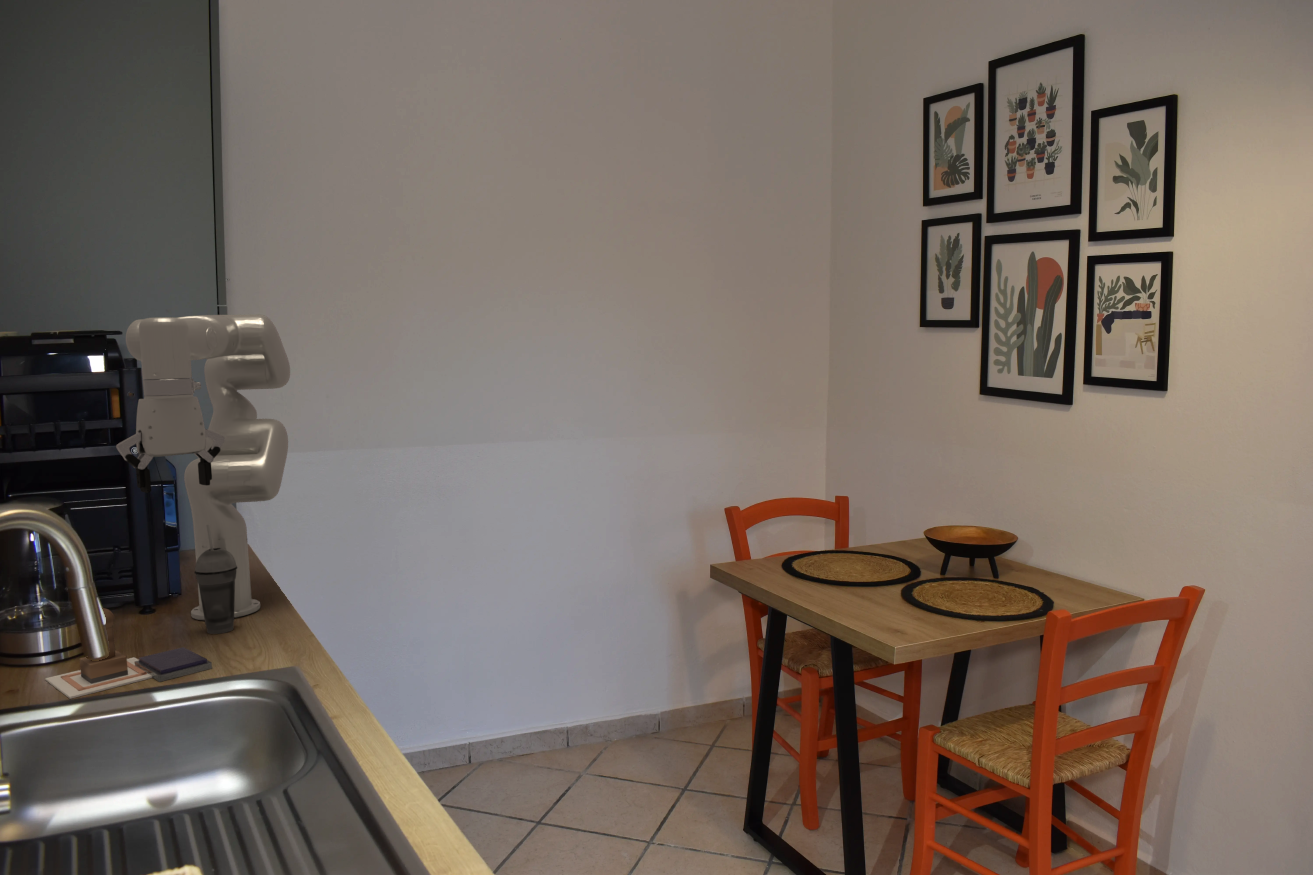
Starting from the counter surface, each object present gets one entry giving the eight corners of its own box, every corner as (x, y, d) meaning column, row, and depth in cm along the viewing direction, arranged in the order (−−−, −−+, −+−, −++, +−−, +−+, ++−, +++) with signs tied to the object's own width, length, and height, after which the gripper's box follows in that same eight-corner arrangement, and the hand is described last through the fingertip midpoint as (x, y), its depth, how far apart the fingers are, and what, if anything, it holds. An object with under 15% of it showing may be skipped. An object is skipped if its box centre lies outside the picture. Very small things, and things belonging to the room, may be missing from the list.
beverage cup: (220, 637, 167) (212, 529, 166) (189, 634, 170) (181, 527, 168) (250, 626, 174) (243, 522, 172) (220, 623, 177) (213, 520, 175)
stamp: (81, 676, 147) (75, 609, 146) (117, 667, 151) (111, 602, 150) (91, 683, 143) (85, 614, 142) (128, 674, 147) (122, 607, 146)
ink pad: (135, 667, 152) (134, 657, 152) (185, 654, 158) (185, 645, 157) (159, 681, 144) (158, 671, 144) (212, 668, 150) (211, 658, 150)
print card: (45, 680, 147) (45, 676, 147) (134, 658, 156) (134, 655, 156) (69, 698, 138) (69, 695, 138) (162, 675, 147) (162, 672, 147)
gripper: (211, 387, 167) (218, 480, 168) (105, 392, 154) (113, 492, 156) (228, 387, 162) (235, 483, 163) (120, 392, 149) (128, 496, 151)
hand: (176, 488), depth 160 cm, fingers open, 9 cm apart
